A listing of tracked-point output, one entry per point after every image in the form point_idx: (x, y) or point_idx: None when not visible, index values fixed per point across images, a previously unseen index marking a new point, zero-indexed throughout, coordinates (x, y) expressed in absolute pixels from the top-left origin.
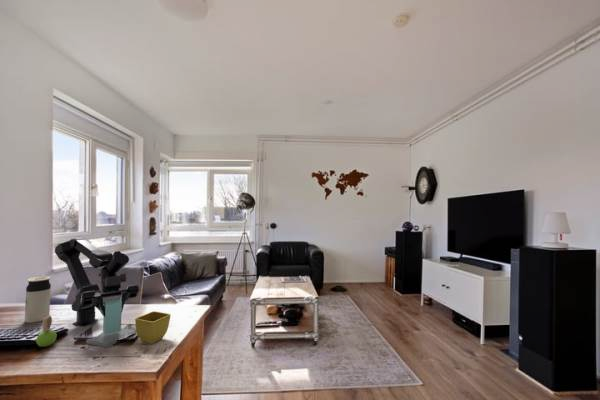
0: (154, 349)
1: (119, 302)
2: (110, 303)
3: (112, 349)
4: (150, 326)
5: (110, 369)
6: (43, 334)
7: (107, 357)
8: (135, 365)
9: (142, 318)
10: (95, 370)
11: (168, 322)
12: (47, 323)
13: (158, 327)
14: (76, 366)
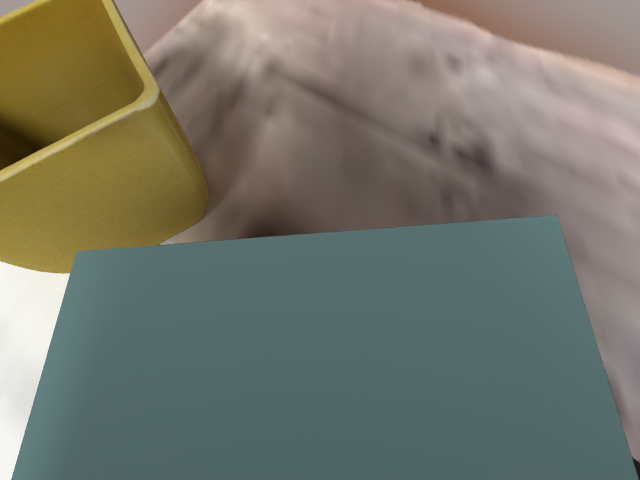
0: (190, 97)
1: (145, 249)
2: (413, 287)
3: (379, 213)
4: (125, 23)
5: (404, 14)
6: None
7: (413, 125)
8: (307, 5)
9: (86, 153)
10: (467, 31)
11: None
12: None
13: (81, 65)
14: (571, 104)
